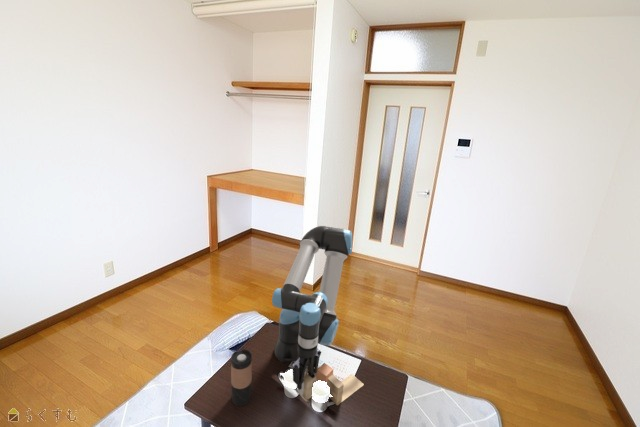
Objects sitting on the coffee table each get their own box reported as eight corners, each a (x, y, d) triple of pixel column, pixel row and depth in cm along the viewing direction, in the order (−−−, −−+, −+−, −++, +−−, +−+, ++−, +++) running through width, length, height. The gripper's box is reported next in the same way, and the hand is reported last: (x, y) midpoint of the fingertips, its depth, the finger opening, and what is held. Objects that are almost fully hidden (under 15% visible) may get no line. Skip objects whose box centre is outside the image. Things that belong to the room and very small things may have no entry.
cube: (316, 379, 128) (316, 369, 126) (323, 372, 132) (324, 362, 130) (325, 385, 125) (326, 376, 124) (332, 378, 129) (333, 369, 127)
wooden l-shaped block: (324, 395, 122) (326, 377, 119) (351, 376, 132) (353, 359, 130) (337, 407, 117) (339, 389, 114) (363, 386, 127) (366, 369, 125)
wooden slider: (295, 390, 123) (297, 372, 120) (324, 371, 133) (326, 354, 131) (306, 402, 118) (308, 384, 115) (335, 382, 129) (337, 364, 126)
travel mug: (244, 409, 114) (244, 367, 108) (227, 402, 116) (226, 360, 110) (255, 393, 121) (255, 352, 115) (239, 387, 123) (238, 346, 117)
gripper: (297, 358, 106) (293, 409, 113) (330, 339, 117) (325, 387, 124) (284, 346, 112) (282, 395, 118) (317, 329, 122) (313, 375, 129)
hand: (304, 391), depth 121 cm, fingers closed on wooden slider, 3 cm apart
